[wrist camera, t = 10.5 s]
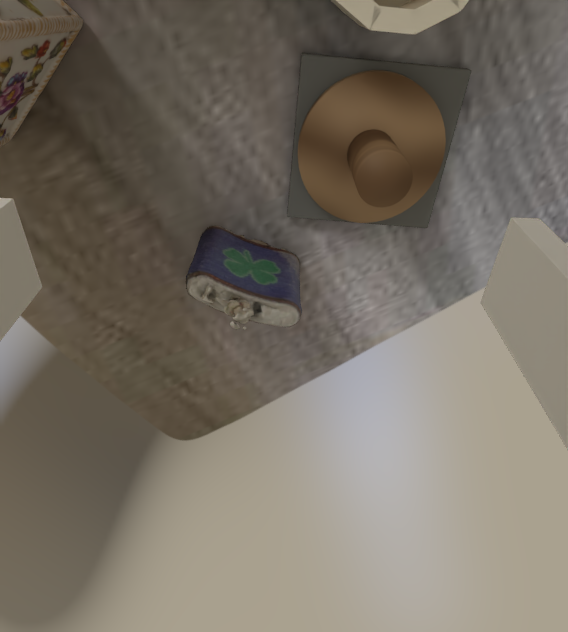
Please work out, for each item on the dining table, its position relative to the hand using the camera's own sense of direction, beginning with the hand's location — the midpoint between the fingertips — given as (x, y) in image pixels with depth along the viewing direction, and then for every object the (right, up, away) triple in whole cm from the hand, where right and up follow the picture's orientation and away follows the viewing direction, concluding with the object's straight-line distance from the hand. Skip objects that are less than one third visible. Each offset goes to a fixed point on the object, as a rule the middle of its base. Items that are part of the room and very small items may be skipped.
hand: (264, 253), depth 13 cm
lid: (+7, +11, +23) cm, 26 cm away
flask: (-3, +4, +29) cm, 30 cm away
